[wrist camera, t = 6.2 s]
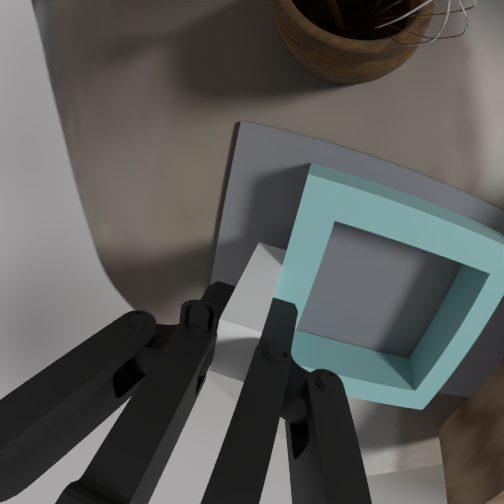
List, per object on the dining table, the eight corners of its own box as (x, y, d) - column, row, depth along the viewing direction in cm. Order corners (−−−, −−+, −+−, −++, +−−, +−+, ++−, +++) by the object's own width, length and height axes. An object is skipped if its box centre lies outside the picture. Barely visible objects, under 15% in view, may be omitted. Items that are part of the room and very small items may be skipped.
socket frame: (311, 162, 15) (308, 173, 13) (499, 231, 14) (524, 254, 12) (260, 339, 21) (249, 370, 18) (416, 378, 20) (422, 409, 17)
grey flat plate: (242, 120, 16) (240, 120, 15) (563, 243, 13) (566, 245, 13) (204, 329, 22) (202, 333, 22) (469, 394, 20) (470, 397, 19)
